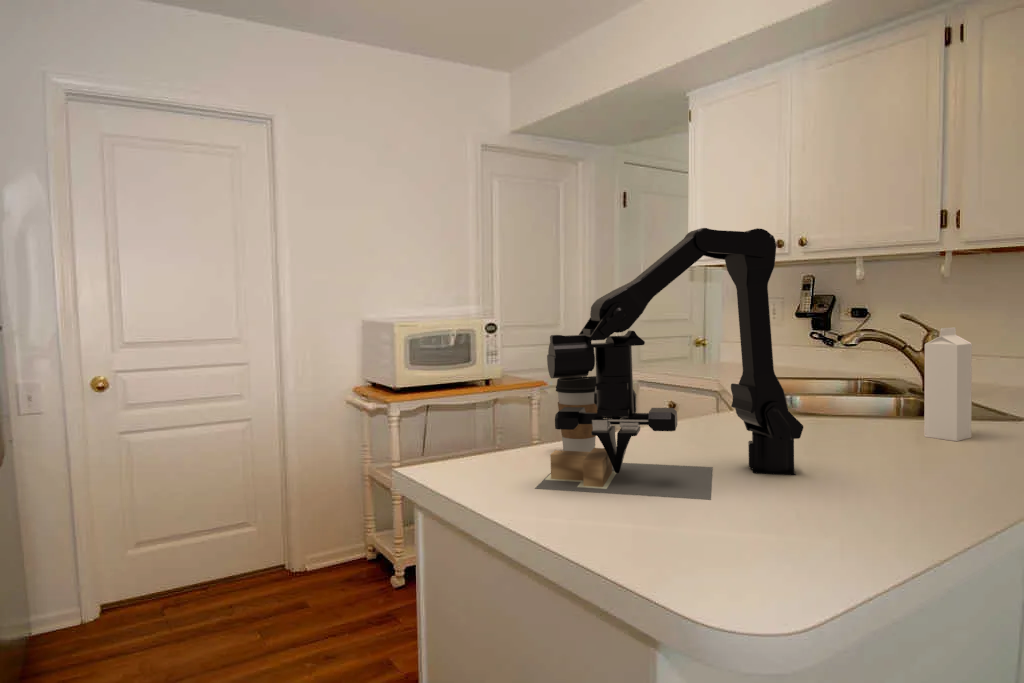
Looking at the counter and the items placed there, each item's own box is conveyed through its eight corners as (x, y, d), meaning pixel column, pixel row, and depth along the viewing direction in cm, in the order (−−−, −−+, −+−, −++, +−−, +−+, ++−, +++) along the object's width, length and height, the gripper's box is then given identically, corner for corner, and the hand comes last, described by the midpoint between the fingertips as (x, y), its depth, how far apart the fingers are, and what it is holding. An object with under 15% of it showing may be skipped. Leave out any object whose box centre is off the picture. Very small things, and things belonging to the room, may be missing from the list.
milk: (924, 437, 129) (923, 328, 128) (939, 433, 132) (938, 327, 131) (957, 441, 124) (957, 328, 123) (972, 437, 127) (972, 327, 126)
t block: (612, 472, 107) (611, 448, 107) (602, 487, 98) (602, 461, 98) (559, 469, 110) (559, 446, 109) (546, 483, 101) (545, 458, 101)
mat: (712, 469, 108) (712, 466, 108) (710, 502, 90) (710, 499, 90) (563, 462, 117) (563, 459, 117) (534, 491, 99) (534, 488, 99)
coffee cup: (587, 461, 116) (585, 379, 116) (548, 456, 122) (546, 377, 121) (609, 452, 123) (607, 375, 122) (572, 447, 128) (570, 373, 127)
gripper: (678, 369, 106) (680, 462, 107) (568, 370, 112) (571, 459, 113) (673, 376, 95) (676, 479, 96) (552, 377, 101) (556, 475, 102)
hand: (617, 472), depth 102 cm, fingers closed
